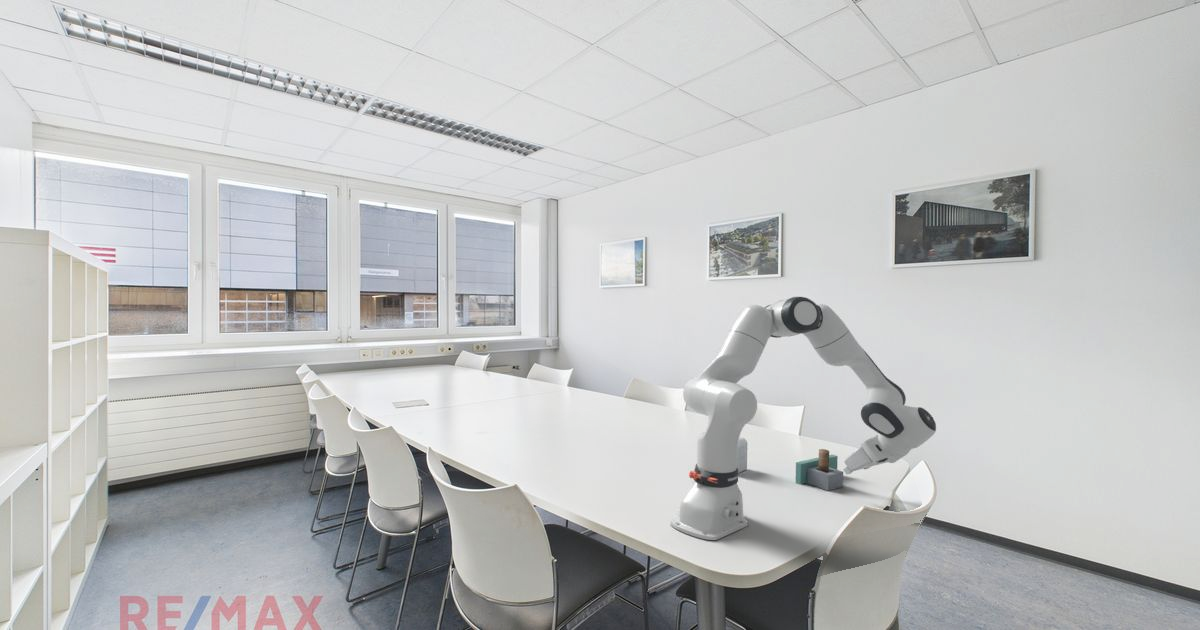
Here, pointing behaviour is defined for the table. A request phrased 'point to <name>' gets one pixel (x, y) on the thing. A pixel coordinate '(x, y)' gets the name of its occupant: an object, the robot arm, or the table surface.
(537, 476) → the table surface
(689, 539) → the table surface
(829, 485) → the socket block
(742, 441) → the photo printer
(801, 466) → the backstop board
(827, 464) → the walnut dowel
